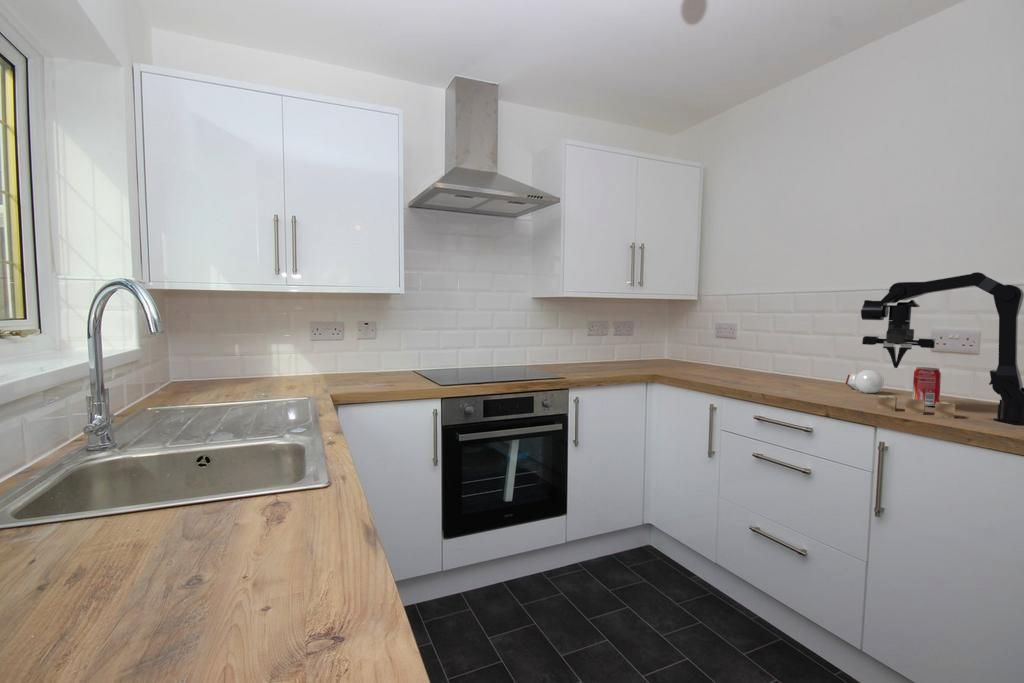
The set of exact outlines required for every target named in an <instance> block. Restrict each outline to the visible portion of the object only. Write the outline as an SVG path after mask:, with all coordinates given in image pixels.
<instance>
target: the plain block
mask: <svg viewBox="0 0 1024 683" xmlns="http://www.w3.org/2000/svg"><path fill="white" fill-rule="evenodd" d="M904 408H905V409H904V412H905V411H908V412H916V413H924V414H925V411H926V410H925V409H926V407H925V400H915V399H912V398H906V400H905V407H904Z"/></svg>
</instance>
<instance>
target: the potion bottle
mask: <svg viewBox="0 0 1024 683" xmlns="http://www.w3.org/2000/svg"><path fill="white" fill-rule="evenodd" d="M884 380H885V379H884V377H883V375H882V374H881V373H880V372H878V371H876V370H874V369H863V370H860V371H859V372H857V373H850V374H848V375H847V378H846V380H845V385H846V386H848V387H850V388H851V389H852V390H855V389H856V390H855V391H860V392H862V393H864V394H876V393H878V392H880V391H881V390H882V388H883V387H884V386H885V381H884Z"/></svg>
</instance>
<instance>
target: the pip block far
mask: <svg viewBox="0 0 1024 683" xmlns="http://www.w3.org/2000/svg"><path fill="white" fill-rule="evenodd" d="M897 403H898V397H896V396H893V395H878V396H877V408H881V409H891V410H895V409H896V410H897ZM896 410H895V411H896Z"/></svg>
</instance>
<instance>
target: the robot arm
mask: <svg viewBox="0 0 1024 683" xmlns="http://www.w3.org/2000/svg"><path fill="white" fill-rule="evenodd" d="M972 287H977V288H978V289H981V290H982V291H984V292H986V293H988V294H990V295H991V296H993V300H994V301H993V302H994V304H995V308H996V311H997V315H998V364H997V368H996V369H991V370H990V371H989V375H990V382H989V383H988V384H989V385H990V386H991V388H992V390H993V392H995V393H996V394H997V395H999V396H1000V398H1001V399H999V404H997V415H996V418H992V420H993V421H995V422H996V421H997V422H1003V423H1005V424H1006V423H1007V424H1010V425H1016V426H1017V425H1019V426H1020V425H1022V426H1024V387H1023V385H1024V384H1023V380H1022V376H1021V373H1020V369H1019V367H1018V322H1019V321H1018V320H1019V319H1018V317H1019V314H1020V311H1021V309H1022V304H1023V301H1024V291H1023V290H1022V288H1020V287H1019V286H1016V285H1013V284H1004V283H1000V282H999V281H997V280H994V279H993V278H990V277H989V276H987V275H986V274H984V273H982V272H972V273H969V274H964V275H956V276H951V277H946V278H939V279H932V280H928V281H905V282H904V281H903V282H901V281H900V282H896V283H893V284H891V286H890V287H889V289H888V293H886V295H885V296H884V297H883V298H882V299H881V300H868V299H865V300H864V301H863V302H864V303H863V304H862V308H861V310H860V317H861V319H862V321H883V320H884V319H885V318H888V322H887V323H888V324H887V331H886V334H885V335H886V336H885V338H879V337H880V336H877V335H876V336H873V335H871V336H870V335H865V336H863V337H862V341H861V342H862V343H861V345H869V346H871V345H872V346H875V345H878V344H880V345H883V346H882V348H883V349H886V350H887V352H888V354H889V356H890V358H891V362H892V365H893V368H894V369H898V368H899V366H900V363H901V361H902V359H903V357H904V356H905V354H906V352H907V351H908V350H912V347H913V346H919V347H920V348H922V349H925V348H927V349H934V348H935V346H936V340H935V339H933V338H918V339H915V338H914V337H915V329H914V328H911V317H912V308H920V305H919V303H917V302H916V301H915V300H914V299H915V298H918V297H921V296H924V295H927V294H933V293H937V292H945V291H952V290H959V289H964V288H972ZM908 300H909V301H908ZM888 304H889V305H888ZM893 304H896V305H893ZM896 345H898V346H899V345H900V347H899V348H898V354H897V352H896Z"/></svg>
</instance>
